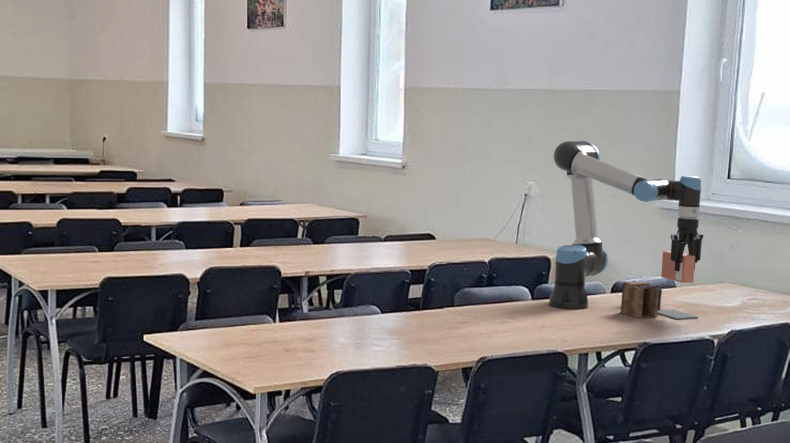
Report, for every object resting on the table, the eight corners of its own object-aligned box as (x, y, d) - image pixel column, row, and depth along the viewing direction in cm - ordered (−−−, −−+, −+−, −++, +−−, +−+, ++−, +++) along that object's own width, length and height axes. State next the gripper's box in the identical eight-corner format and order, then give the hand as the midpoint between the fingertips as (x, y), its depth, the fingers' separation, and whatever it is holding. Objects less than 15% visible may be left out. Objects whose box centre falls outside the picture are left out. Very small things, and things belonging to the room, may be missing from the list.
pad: (652, 312, 378) (652, 310, 378) (673, 311, 382) (673, 309, 382) (676, 319, 366) (676, 318, 366) (697, 318, 370) (697, 316, 370)
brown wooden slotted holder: (620, 312, 376) (622, 281, 375) (638, 311, 380) (640, 280, 379) (639, 317, 367) (641, 286, 365) (657, 316, 370) (659, 285, 369)
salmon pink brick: (661, 277, 377) (662, 251, 375) (670, 276, 378) (672, 250, 377) (683, 282, 365) (685, 256, 364) (693, 282, 366) (695, 255, 365)
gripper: (675, 219, 358) (671, 282, 361) (713, 218, 365) (709, 280, 368) (662, 216, 365) (658, 278, 368) (700, 216, 372) (696, 277, 375)
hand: (684, 279), depth 368 cm, fingers closed on salmon pink brick, 4 cm apart
